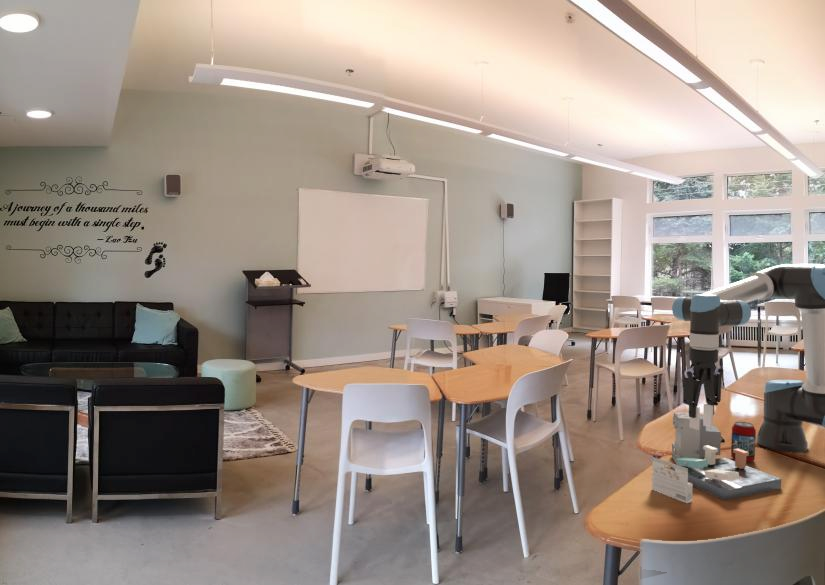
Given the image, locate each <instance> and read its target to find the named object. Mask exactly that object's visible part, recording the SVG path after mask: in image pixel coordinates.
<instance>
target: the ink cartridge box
mask: <svg viewBox="0 0 825 585" xmlns="http://www.w3.org/2000/svg"><path fill="white" fill-rule="evenodd" d="M668 465H669V466H670V467H671V466H672V467H673V468H674V469H675V471H674V470H671V469H670V468H669V467H665V466H668ZM651 476H652V478H651V491H653V490H654V492H656V491H657V492H656V493H658V492H659V494H661V493H662V494H661V495H664V496H666V495H667V496H666V497H669V498H671V497H672V499H674V498H675V500H676V501H679V502H681V503H684V504H690V503H692V502H693V484H692V483H689V482H688V468H685V467H682V466H679V465H676V464H675V463H673V462H669V461H666V460H663V459H660V458H657V457H654V456H652V473H651Z"/></svg>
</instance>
